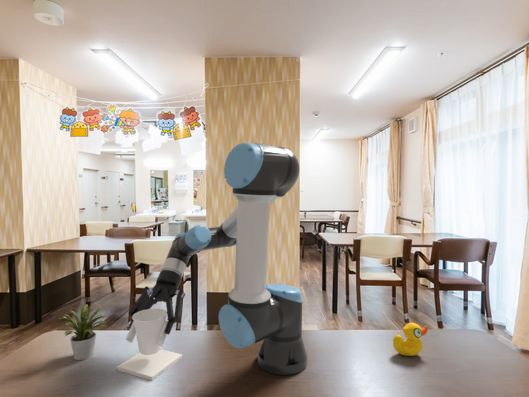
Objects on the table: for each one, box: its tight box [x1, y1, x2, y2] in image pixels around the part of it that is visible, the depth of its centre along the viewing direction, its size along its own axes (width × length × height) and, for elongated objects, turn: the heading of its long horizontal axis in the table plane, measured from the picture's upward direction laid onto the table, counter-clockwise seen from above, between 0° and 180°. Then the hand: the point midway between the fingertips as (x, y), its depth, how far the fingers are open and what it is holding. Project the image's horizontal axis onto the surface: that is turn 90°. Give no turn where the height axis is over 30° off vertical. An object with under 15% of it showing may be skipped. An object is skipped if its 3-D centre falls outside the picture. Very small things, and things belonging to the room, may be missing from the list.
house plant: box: [59, 303, 111, 361], centre depth 99 cm, size 14×14×16 cm
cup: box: [131, 308, 168, 355], centre depth 97 cm, size 10×10×11 cm
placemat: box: [116, 348, 183, 381], centre depth 97 cm, size 13×13×1 cm
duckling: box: [392, 322, 429, 357], centre depth 102 cm, size 11×5×10 cm, turn 98°
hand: (143, 342), depth 94 cm, fingers closed on cup, 9 cm apart
